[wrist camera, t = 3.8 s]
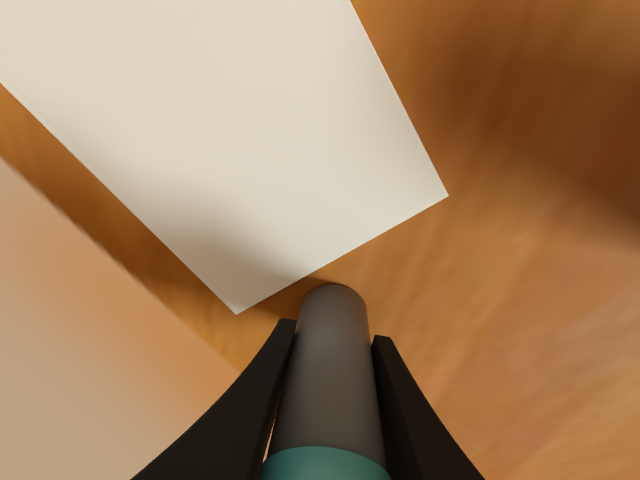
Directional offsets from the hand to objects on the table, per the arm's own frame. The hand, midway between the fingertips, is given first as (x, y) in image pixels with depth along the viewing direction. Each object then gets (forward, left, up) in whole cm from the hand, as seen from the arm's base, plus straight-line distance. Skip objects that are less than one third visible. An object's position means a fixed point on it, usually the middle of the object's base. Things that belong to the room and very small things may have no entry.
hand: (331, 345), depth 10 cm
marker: (0, 0, -2) cm, 2 cm away
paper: (+8, +6, -2) cm, 10 cm away
